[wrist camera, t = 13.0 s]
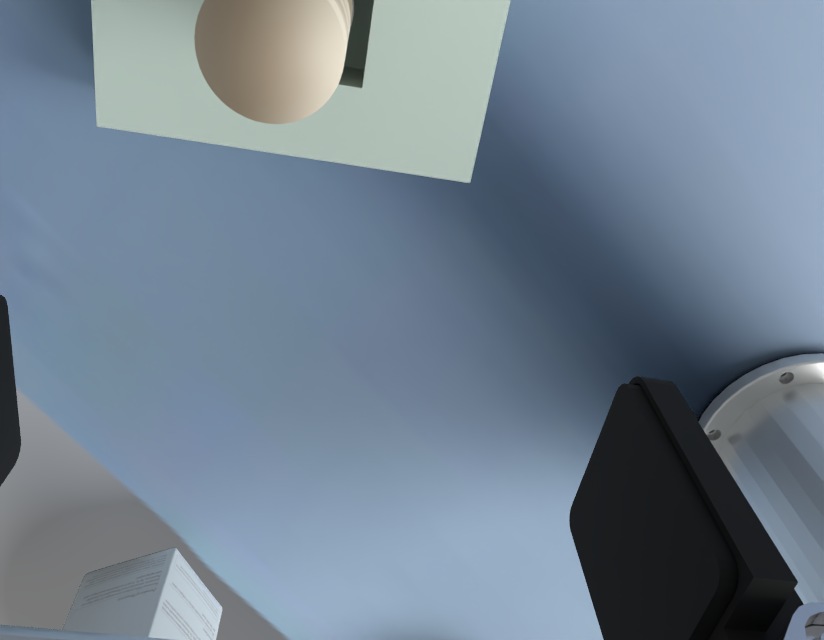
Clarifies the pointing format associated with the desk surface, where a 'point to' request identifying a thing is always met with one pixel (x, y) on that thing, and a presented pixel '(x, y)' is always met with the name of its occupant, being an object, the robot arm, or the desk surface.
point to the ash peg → (273, 54)
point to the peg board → (349, 104)
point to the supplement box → (146, 600)
